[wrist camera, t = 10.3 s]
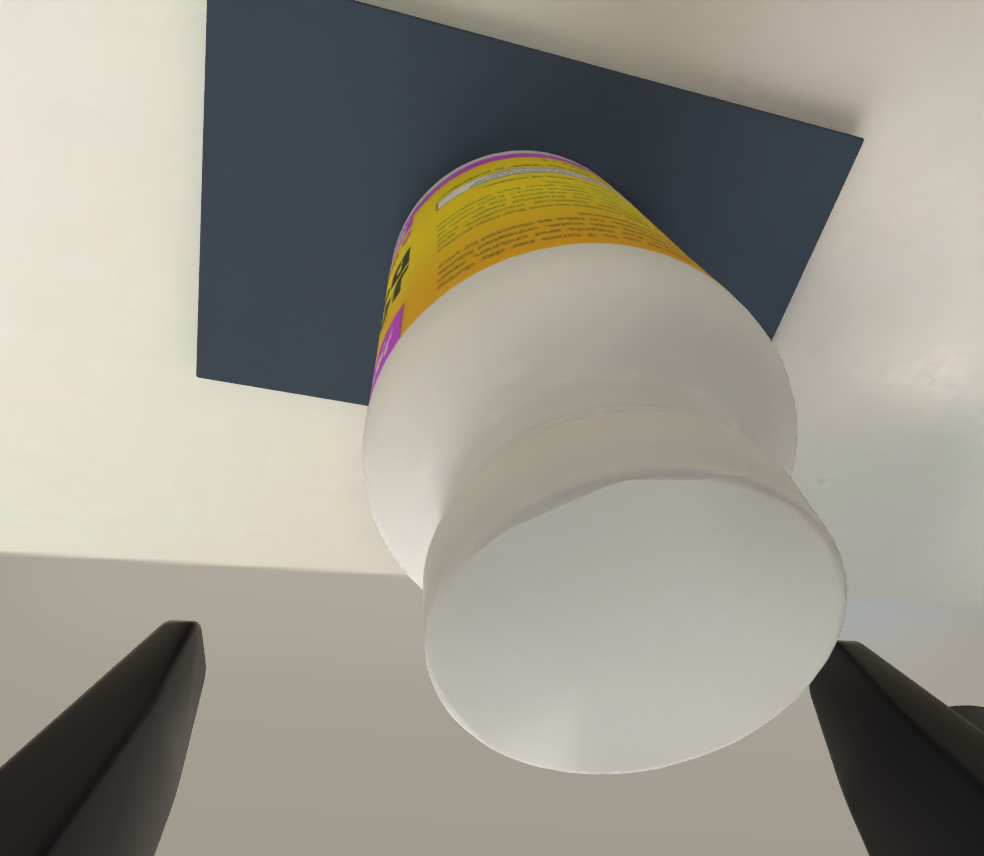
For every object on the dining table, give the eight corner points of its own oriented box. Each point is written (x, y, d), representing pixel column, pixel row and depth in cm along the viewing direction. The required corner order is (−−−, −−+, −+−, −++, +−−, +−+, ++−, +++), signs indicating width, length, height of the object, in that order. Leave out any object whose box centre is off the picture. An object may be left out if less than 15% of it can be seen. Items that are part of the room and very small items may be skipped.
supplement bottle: (371, 160, 17) (252, 409, 6) (639, 132, 17) (1034, 320, 6) (411, 401, 20) (385, 853, 9) (634, 375, 20) (879, 790, 9)
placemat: (852, 136, 18) (865, 139, 17) (708, 454, 23) (714, 464, 22) (215, -37, 15) (207, -40, 15) (201, 368, 20) (195, 377, 19)
